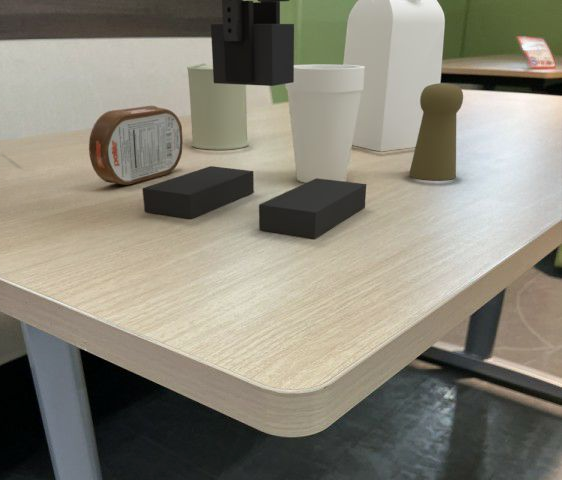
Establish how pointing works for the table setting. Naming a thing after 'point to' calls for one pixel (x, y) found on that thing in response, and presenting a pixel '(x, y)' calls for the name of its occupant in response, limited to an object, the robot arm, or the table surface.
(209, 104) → the can
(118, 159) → the tin
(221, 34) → the black rectangular block
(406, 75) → the milk
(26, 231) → the table surface
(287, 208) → the pad pair
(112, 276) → the table surface
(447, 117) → the olive knobbed tapered post
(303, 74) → the foam cup
